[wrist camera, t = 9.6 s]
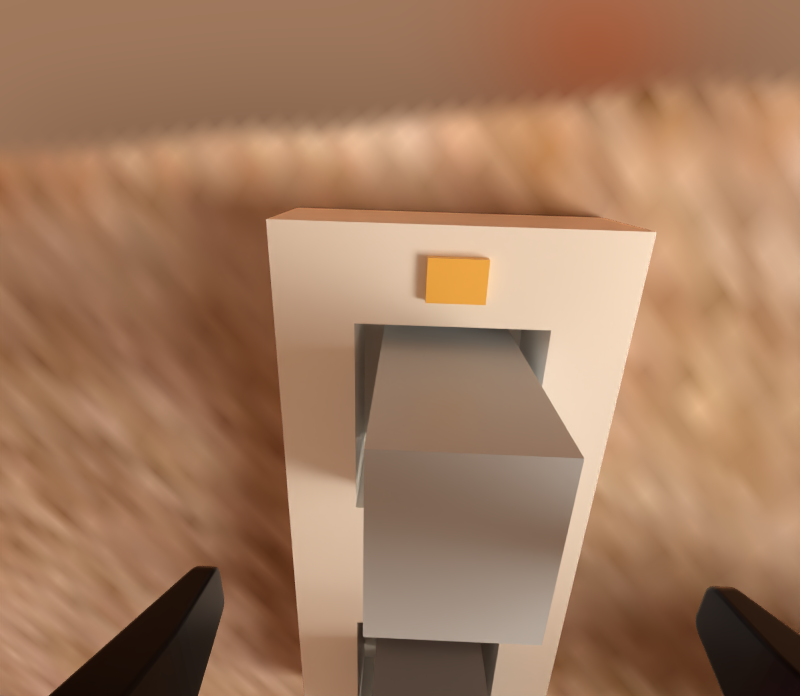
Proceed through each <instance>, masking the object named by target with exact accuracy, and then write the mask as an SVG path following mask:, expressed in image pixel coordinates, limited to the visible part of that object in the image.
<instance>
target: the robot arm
mask: <svg viewBox="0 0 800 696" xmlns="http://www.w3.org/2000/svg"><path fill="white" fill-rule="evenodd" d="M223 607H224V594H223V588H222V582H221V576H220V572H219V569H218V568H217V567H212V566H197V567H194V568H193V569H191V570H190V571H189V572H188V573H187V574H186V575H184V576H183V577H182V578H181V579H180V580H179V581H178V582H177V583H175V584H174V585H173V586H172V587H171V588H170V589H169V590H167V591H166V592H165V593H164V594H163V595H162V596H161V597H160V598H158V599H157V600H156V601H155V602H154V603H153V604H152V605H151V606H149V607H148V608H147V609H146V610H145V611H144V612H143V613H141V614H140V615H139V616H138V617H137V618H136V619H135V620H134V621H132V622H131V623H130V624H129V625H128V626H127V627H126V628H125V629H123V630H122V631H121V632H120V633H119V634H118V635H117V636H115V637H114V638H113V639H112V640H111V641H110V642H109V643H108V644H106V645H105V646H104V647H103V648H102V649H101V650H100V651H99V652H97V653H96V654H95V655H94V656H93V657H92V658H91V659H89V660H88V661H87V662H86V663H85V664H84V665H83V666H82V667H80V668H79V669H78V670H77V671H76V672H75V673H74V674H73V675H71V676H70V677H69V678H68V679H67V680H66V681H65V682H63V683H62V684H61V685H60V686H59V687H58V688H57V689H56V690H54V691H53V692H52V693H51V694H50V695H49V696H198V694H199V690H200V687H201V684H202V680H203V677H204V673H205V670H206V667H207V663H208V660H209V656H210V653H211V649H212V646H213V643H214V639H215V636H216V632H217V629H218V626H219V622H220V619H221V615H222V612H223ZM696 627H697V631H698V634H699V636H700V639H701V641H702V644H703V646H704V649H705V651H706V654H707V656H708V659H709V661H710V663H711V666H712V668H713V671H714V673H715V676H716V678H717V681H718V683H719V686H720V688H721V691H722V693H723V696H800V635H799V634H797V633H796V632H795V631H793V630H792V629H791V628H789V627H788V626H787V625H785V624H784V623H782V622H781V621H780V620H778V619H777V618H776V617H774V616H773V615H771V614H770V613H769V612H767V611H766V610H765V609H763V608H762V607H761V606H759V605H758V604H756V603H755V602H754V601H752V600H751V599H750V598H748V597H747V596H745V595H744V594H743V593H741V592H740V591H738V590H737V589H735V588H732V587H719V586H712V587H709V588H708V589H707V590H706V592H705V594H704V597H703V599H702V602H701V604H700V607H699V610H698V612H697V615H696Z"/></svg>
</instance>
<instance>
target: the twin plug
mask: <svg viewBox="0 0 800 696" xmlns="http://www.w3.org/2000/svg"><path fill="white" fill-rule="evenodd" d="M372 696H488V692H487V685H486V678H485V671H484V664H483V657H482V650H481V643H480V642H459V641H438V640H417V639H396V638H376V650H375V664H374V677H373V691H372Z"/></svg>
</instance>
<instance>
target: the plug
mask: <svg viewBox="0 0 800 696" xmlns="http://www.w3.org/2000/svg"><path fill="white" fill-rule="evenodd" d="M583 463H584V457H583V455H582V454H581V452H580V450H579V449H578V447H577V445H576V443H575V442H574V440H573V438H572V437H571V435H570V433H569V432H568V430H567V428H566V427H565V425H564V423H563V421H562V420H561V418H560V416H559V415H558V413H557V411H556V410H555V408H554V406H553V405H552V403H551V401H550V399H549V398H548V396H547V394H546V393H545V391H544V389H543V388H542V386H541V384H540V383H539V381H538V379H537V378H536V376H535V374H534V372H533V371H532V369H531V367H530V366H529V364H528V362H527V361H526V359H525V357H524V356H523V354H522V352H521V350H520V349H519V347H518V345H517V344H516V342H515V340H514V339H513V337H512V335H511V334H510V332H509V330H508V329H496V328H468V327H440V326H412V325H385V327H384V333H383V339H382V345H381V351H380V357H379V363H378V369H377V375H376V381H375V387H374V393H373V399H372V405H371V411H370V416H369V422H368V428H367V434H366V440H365V446H364V531H363V637H375V638H396V639H417V640H438V641H459V642H480V643H501V644H521V645H542V643H543V638H544V634H545V630H546V625H547V621H548V616H549V612H550V608H551V603H552V599H553V594H554V590H555V586H556V581H557V577H558V572H559V568H560V564H561V559H562V555H563V551H564V546H565V542H566V537H567V533H568V529H569V524H570V520H571V515H572V511H573V507H574V502H575V498H576V493H577V489H578V485H579V480H580V476H581V472H582V467H583Z"/></svg>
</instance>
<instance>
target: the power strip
mask: <svg viewBox="0 0 800 696" xmlns="http://www.w3.org/2000/svg"><path fill="white" fill-rule="evenodd" d="M266 226H267V239H268V251H269V264H270V276H271V289H272V301H273V314H274V326H275V339H276V351H277V364H278V376H279V389H280V401H281V414H282V426H283V439H284V451H285V464H286V476H287V489H288V501H289V514H290V526H291V538H292V551H293V563H294V576H295V588H296V601H297V613H298V626H299V638H300V651H301V663H302V676H303V688H304V696H372V691H373V677H374V664H375V650H376V638H375V637H363V531H364V446H365V440H366V434H367V428H368V422H369V416H370V411H371V405H372V399H373V393H374V387H375V381H376V375H377V369H378V363H379V357H380V351H381V345H382V339H383V333H384V327H385V325H412V326H440V327H468V328H496V329H508V330H509V332H510V334H511V335H512V337H513V339H514V340H515V342H516V344H517V345H518V347H519V349H520V350H521V352H522V354H523V356H524V357H525V359H526V361H527V362H528V364H529V366H530V367H531V369H532V371H533V372H534V374H535V376H536V378H537V379H538V381H539V383H540V384H541V386H542V388H543V389H544V391H545V393H546V394H547V396H548V398H549V399H550V401H551V403H552V405H553V406H554V408H555V410H556V411H557V413H558V415H559V416H560V418H561V420H562V421H563V423H564V425H565V427H566V428H567V430H568V432H569V433H570V435H571V437H572V438H573V440H574V442H575V443H576V445H577V447H578V449H579V450H580V452H581V454H582V455H583V457H584V463H583V467H582V472H581V476H580V480H579V485H578V489H577V493H576V498H575V502H574V507H573V511H572V515H571V520H570V524H569V529H568V533H567V537H566V542H565V546H564V551H563V555H562V559H561V564H560V568H559V572H558V577H557V581H556V586H555V590H554V594H553V599H552V603H551V608H550V612H549V616H548V621H547V625H546V630H545V634H544V638H543V643H542V645H521V644H501V643H481V650H482V657H483V664H484V671H485V678H486V685H487V692H488V696H546V694H547V690H548V686H549V682H550V678H551V673H552V669H553V665H554V661H555V657H556V652H557V648H558V644H559V640H560V636H561V631H562V627H563V623H564V619H565V615H566V610H567V606H568V602H569V598H570V594H571V590H572V585H573V581H574V577H575V573H576V569H577V564H578V560H579V556H580V552H581V548H582V543H583V539H584V535H585V531H586V527H587V522H588V518H589V514H590V510H591V506H592V502H593V497H594V493H595V489H596V485H597V481H598V476H599V472H600V468H601V464H602V460H603V455H604V451H605V447H606V443H607V439H608V434H609V430H610V426H611V422H612V418H613V414H614V409H615V405H616V401H617V397H618V393H619V388H620V384H621V380H622V376H623V372H624V367H625V363H626V359H627V355H628V351H629V346H630V342H631V338H632V334H633V330H634V325H635V321H636V317H637V313H638V309H639V305H640V300H641V296H642V292H643V288H644V284H645V279H646V275H647V271H648V267H649V263H650V258H651V254H652V250H653V246H654V242H655V237H656V233H657V232H655V231H651V230H647V229H643V228H640V227H636V226H632V225H629V224H625V223H621V222H617V221H614V220H610V219H606V218H601V217H571V216H540V215H510V214H479V213H449V212H418V211H388V210H357V209H327V208H295V209H292V210H290V211H287V212H284V213H281V214H279V215H276V216H273V217H270V218H268V219H266Z"/></svg>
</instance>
